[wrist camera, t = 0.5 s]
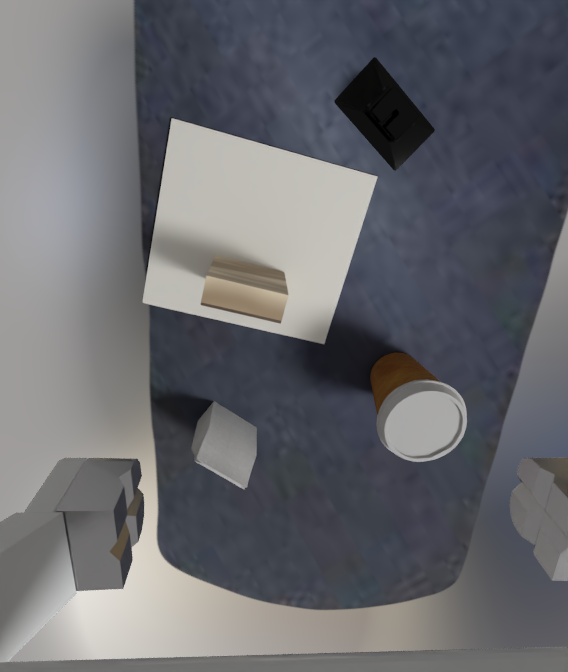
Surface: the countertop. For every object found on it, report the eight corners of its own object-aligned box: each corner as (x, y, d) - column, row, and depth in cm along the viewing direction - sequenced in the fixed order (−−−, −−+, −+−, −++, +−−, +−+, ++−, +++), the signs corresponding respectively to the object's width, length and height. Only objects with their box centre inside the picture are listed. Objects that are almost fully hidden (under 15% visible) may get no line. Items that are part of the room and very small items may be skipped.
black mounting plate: (318, 96, 47) (323, 91, 43) (371, 36, 45) (382, 25, 41) (396, 185, 51) (409, 189, 47) (449, 133, 49) (466, 132, 45)
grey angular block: (213, 401, 59) (205, 448, 50) (256, 427, 61) (255, 477, 52) (197, 421, 60) (186, 470, 51) (240, 446, 62) (236, 499, 53)
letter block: (215, 255, 52) (206, 275, 44) (284, 272, 53) (288, 295, 45) (209, 280, 53) (200, 305, 45) (277, 296, 54) (280, 323, 46)
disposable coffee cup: (356, 409, 61) (378, 468, 49) (358, 342, 57) (381, 389, 46) (429, 405, 61) (466, 462, 50) (435, 338, 57) (476, 383, 46)
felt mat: (172, 118, 47) (171, 118, 47) (377, 176, 50) (377, 176, 50) (142, 302, 54) (142, 302, 54) (323, 343, 57) (324, 344, 57)
